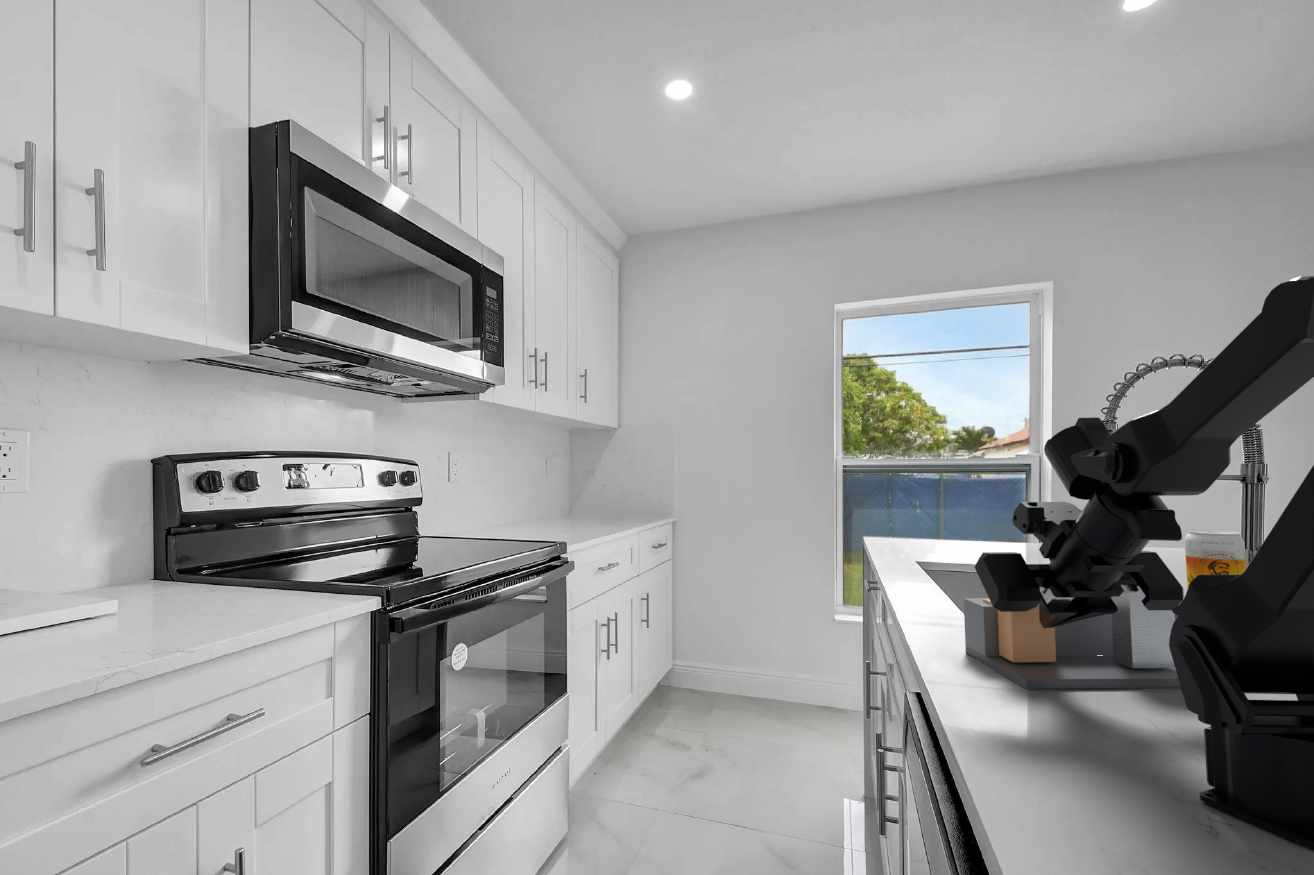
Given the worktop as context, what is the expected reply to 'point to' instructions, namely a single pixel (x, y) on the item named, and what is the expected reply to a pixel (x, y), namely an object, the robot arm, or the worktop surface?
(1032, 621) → the tan rectangular block
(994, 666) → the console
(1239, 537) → the beer can
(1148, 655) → the light grey block
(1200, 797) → the robot arm
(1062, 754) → the worktop surface
